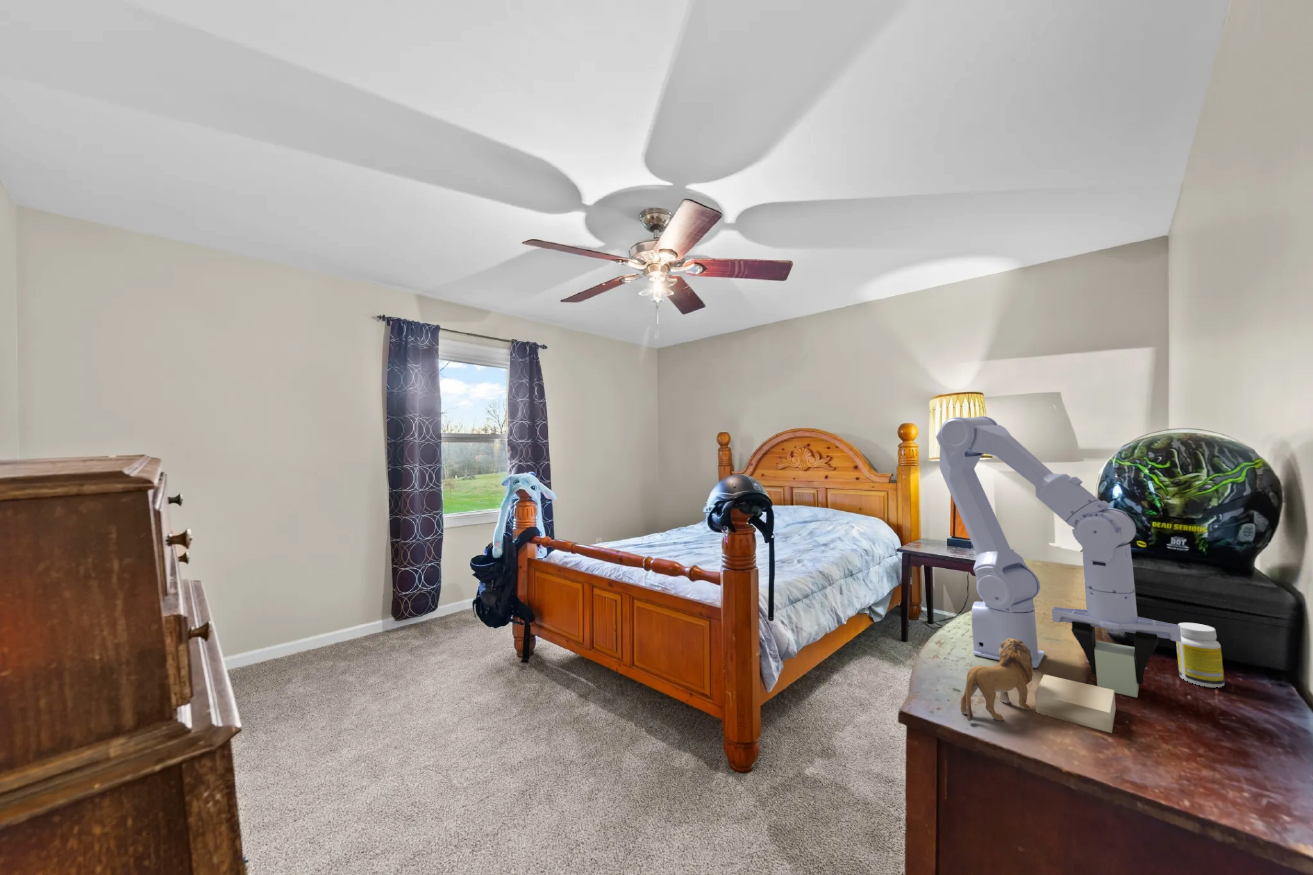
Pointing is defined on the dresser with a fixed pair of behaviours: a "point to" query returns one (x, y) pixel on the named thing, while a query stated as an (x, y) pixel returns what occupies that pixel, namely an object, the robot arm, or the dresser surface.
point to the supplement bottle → (1200, 655)
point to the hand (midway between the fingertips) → (1117, 676)
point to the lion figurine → (1000, 678)
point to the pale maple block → (1076, 702)
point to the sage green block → (1116, 668)
